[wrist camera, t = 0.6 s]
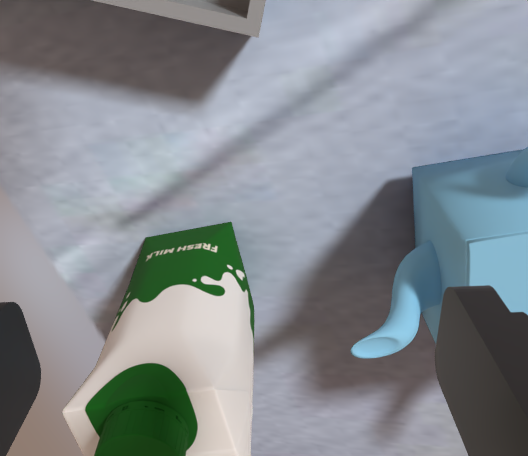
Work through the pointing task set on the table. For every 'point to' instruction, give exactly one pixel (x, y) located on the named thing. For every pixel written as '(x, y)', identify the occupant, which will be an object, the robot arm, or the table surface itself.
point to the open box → (204, 12)
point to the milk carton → (174, 356)
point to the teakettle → (459, 244)
